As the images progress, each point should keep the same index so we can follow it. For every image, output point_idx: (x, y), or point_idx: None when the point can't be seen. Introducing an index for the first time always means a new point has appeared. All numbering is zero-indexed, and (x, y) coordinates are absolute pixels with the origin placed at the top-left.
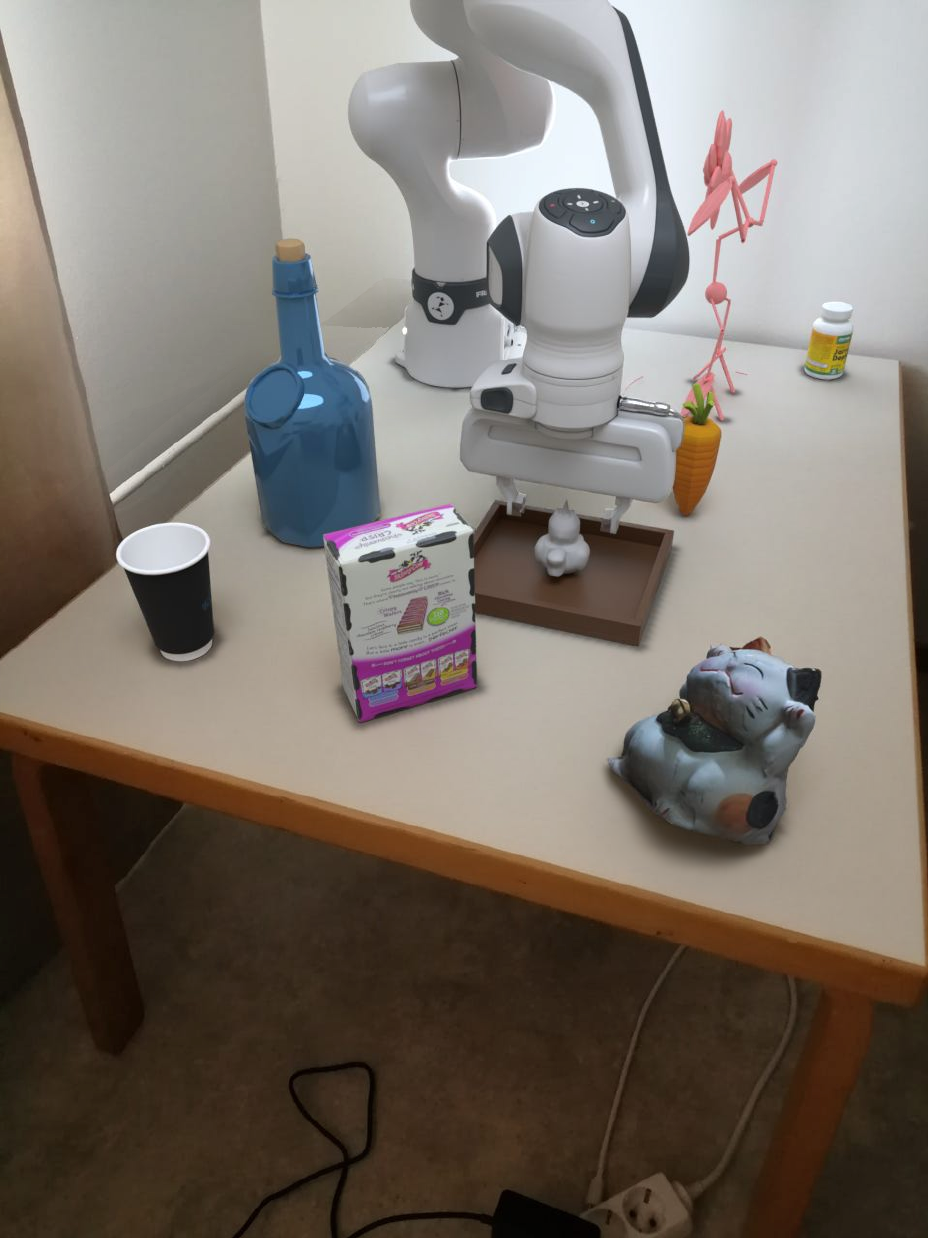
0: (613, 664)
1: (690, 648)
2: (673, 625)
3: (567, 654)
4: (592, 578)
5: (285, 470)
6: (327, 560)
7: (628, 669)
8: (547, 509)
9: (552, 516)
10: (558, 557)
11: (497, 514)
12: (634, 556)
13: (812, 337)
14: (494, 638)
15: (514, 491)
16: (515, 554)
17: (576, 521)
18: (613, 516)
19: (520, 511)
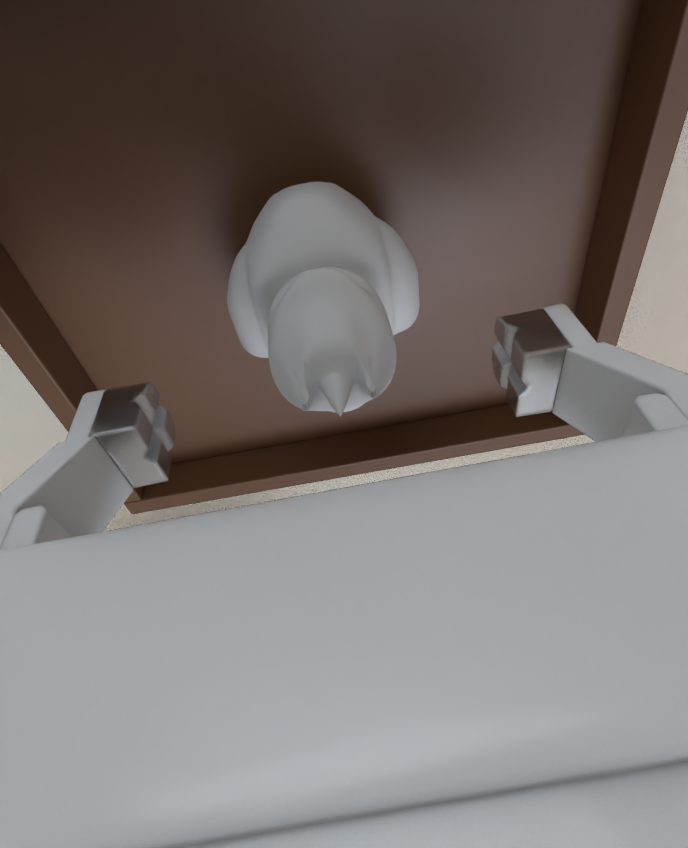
0: (521, 448)
1: (676, 353)
2: (647, 303)
3: (436, 463)
4: (421, 252)
5: None
6: None
7: (549, 446)
8: None
9: (292, 403)
10: (357, 406)
11: None
12: (539, 29)
13: None
14: (297, 486)
15: (93, 474)
16: (142, 253)
17: (391, 378)
18: (572, 423)
19: (169, 445)
